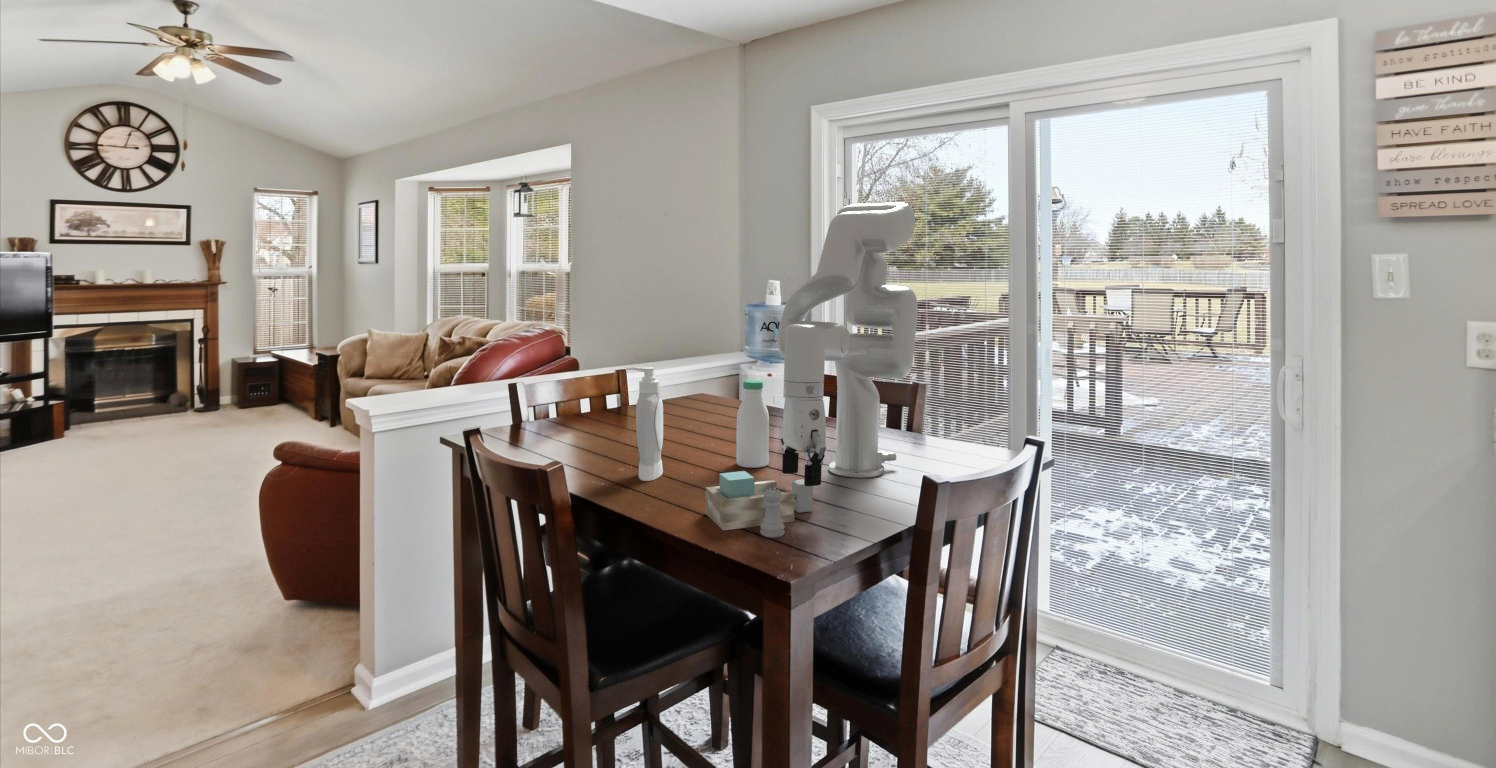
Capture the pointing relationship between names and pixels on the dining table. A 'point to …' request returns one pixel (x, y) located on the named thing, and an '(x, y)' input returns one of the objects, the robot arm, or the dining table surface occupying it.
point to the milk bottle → (752, 427)
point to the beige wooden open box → (745, 507)
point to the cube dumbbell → (744, 486)
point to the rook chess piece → (772, 515)
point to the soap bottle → (649, 425)
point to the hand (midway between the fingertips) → (800, 478)
